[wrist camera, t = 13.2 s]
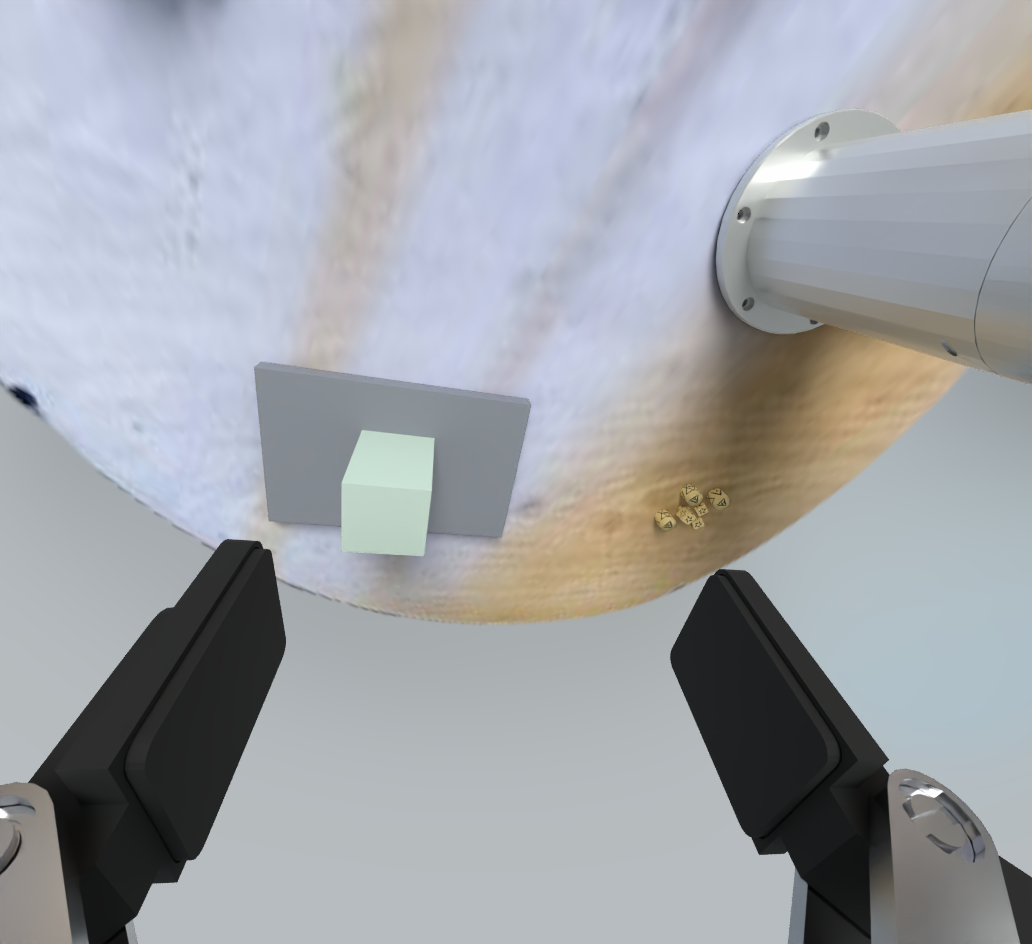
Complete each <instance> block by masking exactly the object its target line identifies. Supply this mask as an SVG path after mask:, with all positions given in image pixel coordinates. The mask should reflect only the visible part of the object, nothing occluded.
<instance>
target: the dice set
mask: <svg viewBox="0 0 1032 944" xmlns="http://www.w3.org/2000/svg"><path fill="white" fill-rule="evenodd" d="M680 495H681V496H682V497H683V498H684V500H685V501H686V502H687V503H688V504H689V505H690V506H696V507H695V508H694V510H695V511H696V513H697V515H698V516H699V517H698V518H696V516H695V515H694V514H693V513H692V512H691V511H690V509H691V508H690V507H689V506H679V508H678V510H677V512H676V516H677V517H679V518H680V519H681V521H683V522H684V523H686V524H688V525H689V524H690V523H692V527H693V529H694V530H696V529H698V528H701V527H703V526H704V523H703V519H702V518H701V516H702V515H704V514H705V513H707V512H709V511H708V509H707V507H706V505H705V504H704V503H702V504H700V505H698V504H699V503H701V502H702V499H703V495H702V494H701V493H700V492H699V490H698V489H697V488H696V487H695V486H694V485H693V484H688V485H685V486H684V487H683V488H682V489H681V492H680ZM707 499H708V501H709V502H710V503H711V504H712V505H713V506H714V508H715V509H716V510H723V509H725V508H726V507H728V505H729V503H730V499H729V497H728V496H727V495H726V494H725V493H724V492H723V491H722V490H721V489H716V488H714V489H713V490H711V491H710V492H709V493H708V495H707ZM697 505H698V506H697ZM654 520H655V521H656V523H657V524H658V525H659V527H660V528H661V529H662V530H663V531H664V532H665V531H671V530H672V529H673V528H675V526H676V521H675V519H674V518H673V517H672V515H671V514H670V513H669V512H668V511H667V510H660V511H659V512H658V513H657V514H655V519H654Z"/></svg>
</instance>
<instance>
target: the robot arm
mask: <svg viewBox="0 0 1032 944" xmlns="http://www.w3.org/2000/svg"><path fill="white" fill-rule="evenodd" d="M738 212H739V217H738V218H737V215H738ZM716 268H717V279H718V282H719V286H720V289H721V293H722V295H723V297H724V299H725V301H726V303H727V305H728V307H729V308H730V309H731V310H732V312H733V313H734V314H735V315H736V316H737V317H738V318H739V319H740V320H742V321H743V322H745V323H747V324H748V325H750V326H751V327H754V328H757V329H759V330H762V331H764V332H769V333H774V334H796V333H800V332H804V331H809V330H812V329H814V328H817V327H819V326H821V325H824V324H828V325H831V326H834V327H838V328H841V329H844V330H848V331H851V332H854V333H858V334H861V335H864V336H868V337H871V338H874V339H878V340H881V341H884V342H888V343H891V344H894V345H898V346H901V347H904V348H908V349H911V350H914V351H918V352H921V353H924V354H928V355H931V356H934V357H938V358H941V359H944V360H948V361H951V362H954V363H958V364H961V365H964V366H968V367H971V368H974V369H978V370H981V371H984V372H988V373H991V374H994V375H998V376H1001V377H1004V378H1008V379H1011V380H1015V381H1019V382H1022V383H1025V384H1029V385H1032V109H1030V110H1024V111H1018V112H1013V113H1007V114H1001V115H996V116H990V117H984V118H978V119H973V120H967V121H961V122H956V123H950V124H944V125H938V126H933V127H927V128H921V129H916V130H910V131H904V132H902V131H901V130H900V129H899V128H898V127H897V126H896V125H895V124H894V123H893V122H892V121H891V120H890V119H888V118H886V117H884V116H882V115H880V114H878V113H877V112H875V111H869V110H864V109H858V108H854V109H843V110H835V111H832V112H828V113H824V114H820V115H817V116H814V117H812V118H810V119H808V120H806V121H803V122H801V123H799V124H797V125H795V126H794V127H792V128H791V129H789V130H788V131H787V132H785V133H784V134H782V135H781V136H779V137H778V138H777V139H776V140H775V141H774V142H773V143H771V144H770V145H769V146H768V147H767V148H766V149H765V150H764V151H763V152H762V153H761V154H760V155H759V156H758V158H757V159H756V160H755V161H754V163H753V164H752V165H751V166H750V168H749V169H748V170H747V172H746V173H745V174H744V176H743V177H742V179H741V181H740V183H739V184H738V186H737V188H736V190H735V191H734V193H733V195H732V197H731V199H730V202H729V204H728V207H727V209H726V211H725V214H724V216H723V220H722V224H721V228H720V232H719V236H718V241H717V252H716ZM285 646H286V636H285V631H284V624H283V618H282V613H281V606H280V600H279V595H278V588H277V582H276V576H275V570H274V564H273V558H272V553H271V551H270V550H269V549H263V547H262V544H261V543H260V542H259V541H248V540H232V539H227V540H224V541H223V542H222V543H221V544H220V545H219V547H218V548H217V550H216V551H215V552H214V554H213V555H212V557H211V558H210V559H209V561H208V562H207V563H206V564H205V566H204V567H203V569H202V570H201V571H200V573H199V574H198V575H197V577H196V578H195V579H194V581H193V582H192V583H191V585H190V586H189V588H188V589H187V590H186V592H185V593H184V594H183V596H182V597H181V598H180V600H179V601H178V602H177V604H176V605H175V607H173V608H166V609H165V610H163V611H161V612H160V613H159V614H158V615H157V616H156V617H155V618H154V619H153V620H152V622H151V623H150V624H149V625H148V627H147V628H146V629H145V631H144V632H143V633H142V635H141V636H140V637H139V639H138V640H137V641H136V643H135V644H134V645H133V646H132V648H131V649H130V650H129V652H128V653H127V654H126V655H125V657H124V658H123V660H122V661H121V662H120V663H119V665H118V666H117V667H116V669H115V670H114V671H113V673H112V674H111V675H110V676H109V678H108V679H107V680H106V682H105V683H104V684H103V685H102V687H101V688H100V690H99V691H98V692H97V693H96V695H95V696H94V697H93V699H92V700H91V701H90V702H89V704H88V705H87V706H86V708H85V709H84V710H83V712H82V713H81V714H80V716H79V717H78V718H77V720H76V721H75V722H74V723H73V725H72V726H71V727H70V729H69V730H68V731H67V733H66V734H65V735H64V737H63V738H62V739H61V740H60V742H59V743H58V744H57V746H56V747H55V748H54V749H53V751H52V752H51V753H50V755H49V756H48V758H47V759H46V760H45V761H44V763H43V764H42V765H41V766H40V768H39V769H38V770H37V772H36V773H35V774H34V776H33V777H32V778H31V780H30V781H29V782H28V783H18V782H14V783H10V784H5V785H0V944H138V942H137V937H136V933H135V928H134V923H133V919H134V918H135V917H136V916H137V915H138V912H139V910H140V908H141V906H142V904H143V902H144V900H145V898H146V895H147V893H148V891H149V889H150V887H151V885H152V884H153V883H174V882H178V879H179V877H180V875H181V872H182V870H183V868H184V865H185V863H186V861H187V860H194V859H196V857H197V856H198V855H199V854H200V852H201V850H202V849H203V847H204V844H205V842H206V840H207V838H208V835H209V833H210V830H211V828H212V826H213V823H214V821H215V818H216V816H217V813H218V811H219V809H220V806H221V804H222V802H223V799H224V797H225V794H226V792H227V790H228V787H229V785H230V782H231V780H232V778H233V775H234V773H235V770H236V768H237V766H238V763H239V761H240V758H241V756H242V753H243V751H244V749H245V746H246V744H247V742H248V739H249V737H250V734H251V732H252V730H253V727H254V725H255V723H256V720H257V718H258V715H259V713H260V710H261V708H262V706H263V703H264V701H265V698H266V696H267V694H268V691H269V689H270V687H271V684H272V682H273V679H274V677H275V675H276V672H277V669H278V667H279V665H280V663H281V660H282V658H283V655H284V651H285ZM670 655H671V656H670V660H671V664H672V668H673V670H674V672H675V675H676V677H677V679H678V682H679V684H680V686H681V689H682V691H683V693H684V696H685V698H686V700H687V702H688V705H689V707H690V710H691V712H692V714H693V716H694V719H695V721H696V724H697V726H698V728H699V730H700V733H701V735H702V738H703V740H704V742H705V744H706V747H707V749H708V752H709V754H710V756H711V758H712V761H713V763H714V765H715V768H716V770H717V773H718V775H719V777H720V780H721V782H722V784H723V787H724V789H725V791H726V793H727V796H728V798H729V800H730V803H731V805H732V807H733V810H734V812H735V814H736V817H737V819H738V821H739V823H740V825H741V828H742V829H743V831H744V832H745V833H746V834H747V835H748V836H749V837H752V840H753V842H754V844H755V846H756V849H757V851H758V853H759V855H767V854H784V853H786V852H787V851H788V853H789V855H790V857H791V859H792V861H793V863H794V865H795V877H794V887H793V897H792V907H791V918H790V928H789V939H788V944H1032V877H1030V876H1029V875H1027V874H1026V873H1024V872H1023V871H1021V870H1020V869H1018V868H1017V867H1015V866H1013V865H1012V864H1011V863H1009V862H1008V861H1006V860H1005V859H1003V858H1002V857H1000V856H999V855H998V853H997V850H996V847H995V845H994V842H993V840H992V838H991V836H990V834H989V833H988V831H987V830H986V828H985V827H984V825H983V824H982V822H981V821H980V819H979V818H978V817H977V816H976V815H975V814H974V813H973V811H972V810H971V809H970V808H969V807H968V806H967V805H966V804H965V803H964V802H963V801H962V800H961V799H960V798H959V797H957V796H956V795H955V794H954V793H953V792H952V791H951V790H949V789H948V788H947V787H945V786H944V785H942V784H940V783H939V782H938V781H936V780H935V779H933V778H931V777H929V776H927V775H924V774H922V773H920V772H917V771H914V770H909V769H899V770H895V771H894V772H892V773H891V774H890V775H889V774H888V772H887V771H886V769H885V768H884V767H883V765H884V764H885V763H886V762H887V761H888V760H889V759H888V758H887V756H886V755H885V754H884V752H883V751H882V750H881V748H880V747H879V746H878V744H877V743H876V742H875V740H874V739H873V738H872V736H871V735H870V734H869V732H868V731H867V730H866V728H865V727H864V725H863V724H862V723H861V721H860V720H859V719H858V718H857V716H856V715H855V713H854V712H853V711H852V710H851V708H850V707H849V705H848V704H847V703H846V701H845V700H844V699H843V697H842V696H841V695H840V693H839V692H838V691H837V689H836V688H835V687H834V686H833V684H832V683H831V681H830V680H829V679H828V677H827V676H826V675H825V673H824V672H823V671H822V669H821V668H820V667H819V665H818V664H817V663H816V661H815V660H814V659H813V658H812V656H811V655H810V653H809V652H808V651H807V649H806V648H805V647H804V645H803V644H802V643H801V642H800V640H799V639H798V637H797V636H796V634H795V633H794V632H793V631H792V629H791V628H790V626H789V625H788V624H787V622H786V621H785V620H784V618H783V617H782V616H781V614H780V613H779V612H778V611H777V609H776V608H775V606H774V605H773V604H772V602H771V601H770V600H769V598H768V597H767V596H766V594H765V593H764V592H763V590H762V589H761V588H760V586H759V585H758V584H757V582H756V581H755V580H754V578H753V577H752V576H751V575H750V574H749V573H748V572H746V571H743V570H726V569H719V570H718V571H716V573H715V574H714V575H712V576H710V577H709V578H708V580H707V582H706V584H705V586H704V587H703V590H702V592H701V593H700V595H699V597H698V599H697V601H696V603H695V605H694V607H693V609H692V611H691V613H690V615H689V617H688V619H687V621H686V622H685V625H684V626H683V628H682V630H681V632H680V634H679V636H678V638H677V640H676V642H675V644H674V646H673V648H672V650H671V654H670Z"/></svg>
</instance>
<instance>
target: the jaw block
mask: <svg viewBox="0 0 1032 944" xmlns="http://www.w3.org/2000/svg"><path fill="white" fill-rule="evenodd" d="M434 440H435V438H428V437H419V436H411V435H402V434H393V433H384V432H375V431H366V430H362V431H361V434H360V436H359V439H358V442H357V444H356V447H355V449H354V452H353V455H352V457H351V460H350V462H349V465H348V467H347V470H346V473H345V475H344V478H343V480H342V491H341V552H357V553H374V554H392V555H409V556H424V552H425V544H426V535H427V527H428V518H429V510H430V501H431V493H432V477H433V458H434Z"/></svg>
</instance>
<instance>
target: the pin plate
mask: <svg viewBox="0 0 1032 944" xmlns="http://www.w3.org/2000/svg"><path fill="white" fill-rule="evenodd" d="M254 371H255V381H256V392H257V402H258V413H259V423H260V434H261V444H262V455H263V465H264V476H265V486H266V497H267V507H268V518H269V521H273V522H287V523H302V524H316V525H330V526H341V491H342V480H343V478H344V475H345V473H346V470H347V467H348V465H349V462H350V460H351V457H352V455H353V452H354V449H355V447H356V444H357V442H358V439H359V436H360V434H361V431H362V430H366V431H375V432H384V433H393V434H402V435H411V436H419V437H428V438H435V440H434V458H433V477H432V493H431V501H430V510H429V518H428V527H427V532H431V533H446V534H460V535H475V536H489V537H502V533H503V529H504V524H505V520H506V515H507V511H508V506H509V502H510V497H511V493H512V488H513V484H514V479H515V475H516V470H517V466H518V461H519V457H520V453H521V448H522V444H523V439H524V435H525V430H526V426H527V421H528V417H529V412H530V408H531V404H530V402H529V399H524V398H517V397H510V396H503V395H496V394H488V393H481V392H474V391H467V390H460V389H452V388H445V387H438V386H431V385H424V384H416V383H409V382H402V381H395V380H388V379H380V378H373V377H366V376H359V375H352V374H344V373H337V372H330V371H323V370H316V369H308V368H301V367H294V366H287V365H280V364H272V363H265V362H260V363H259V364H258V365H257V366H255V367H254Z"/></svg>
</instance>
